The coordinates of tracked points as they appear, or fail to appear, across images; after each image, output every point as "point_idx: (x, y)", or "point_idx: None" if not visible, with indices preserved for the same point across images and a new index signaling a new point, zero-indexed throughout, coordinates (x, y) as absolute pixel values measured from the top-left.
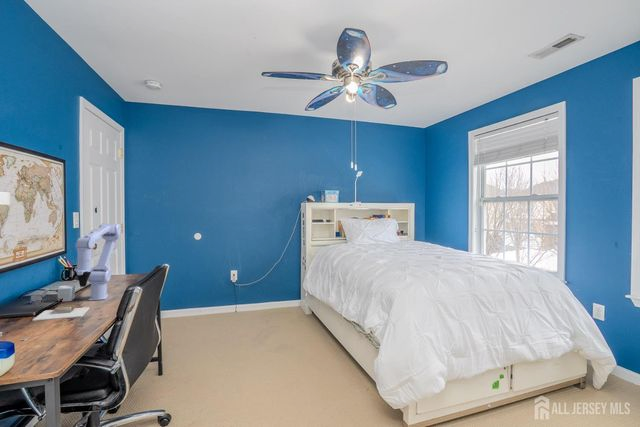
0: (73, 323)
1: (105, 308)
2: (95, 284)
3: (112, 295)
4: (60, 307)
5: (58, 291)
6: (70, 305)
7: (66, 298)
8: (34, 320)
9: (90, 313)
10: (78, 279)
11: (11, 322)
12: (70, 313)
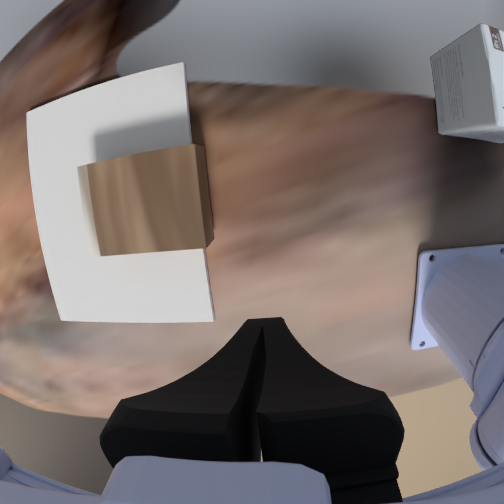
0: (4, 307)
1: None
2: (481, 349)
3: None
4: (96, 189)
5: (469, 36)
6: (135, 236)
7: (445, 104)
8: (29, 121)
9: (111, 344)
10: (198, 367)
11: (39, 36)
12: None
